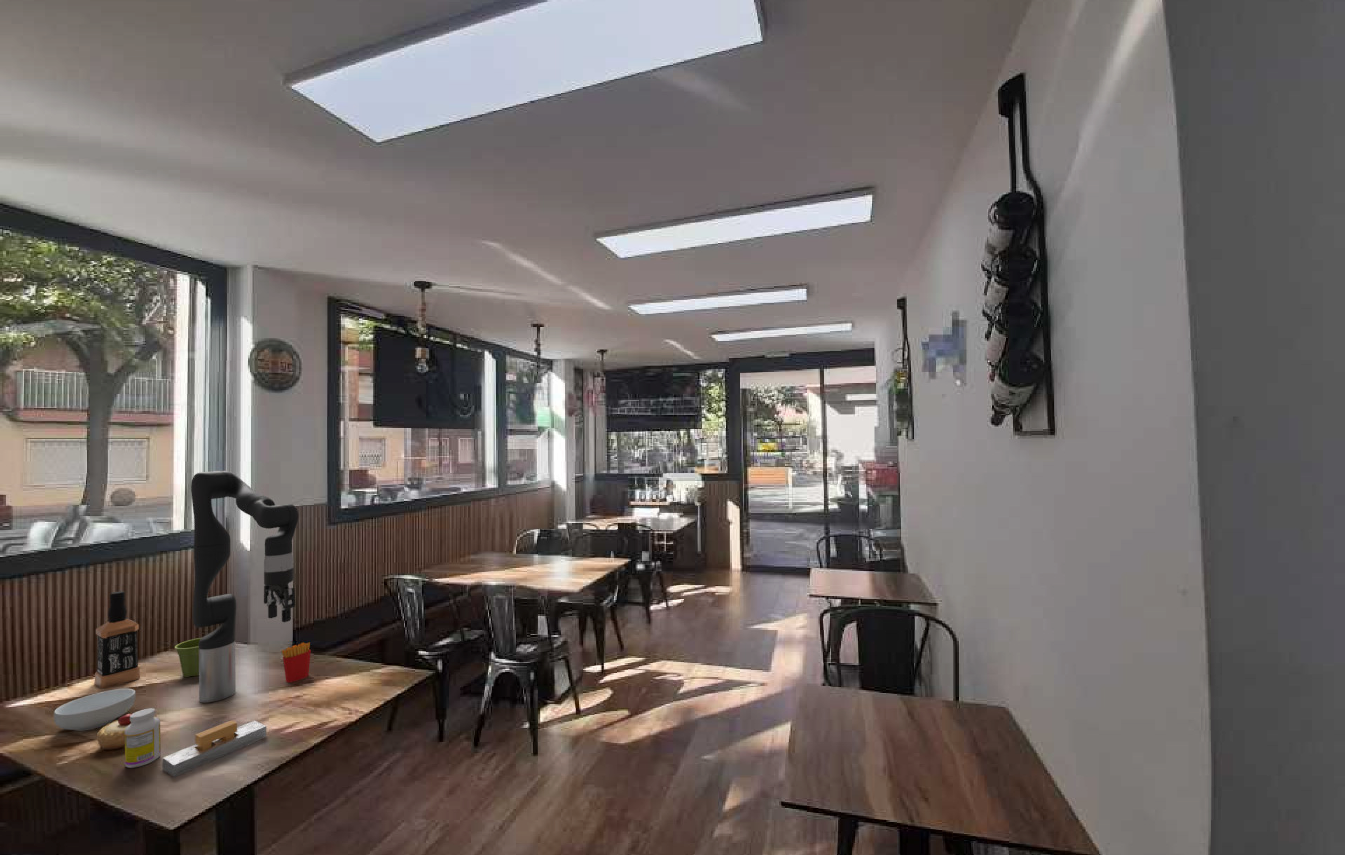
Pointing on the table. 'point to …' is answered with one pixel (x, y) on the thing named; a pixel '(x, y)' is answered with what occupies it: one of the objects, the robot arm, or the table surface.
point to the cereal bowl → (94, 710)
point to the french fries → (296, 662)
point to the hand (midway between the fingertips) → (279, 619)
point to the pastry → (114, 733)
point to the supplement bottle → (142, 738)
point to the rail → (212, 749)
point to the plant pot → (189, 657)
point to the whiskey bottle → (117, 646)
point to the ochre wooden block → (215, 734)
